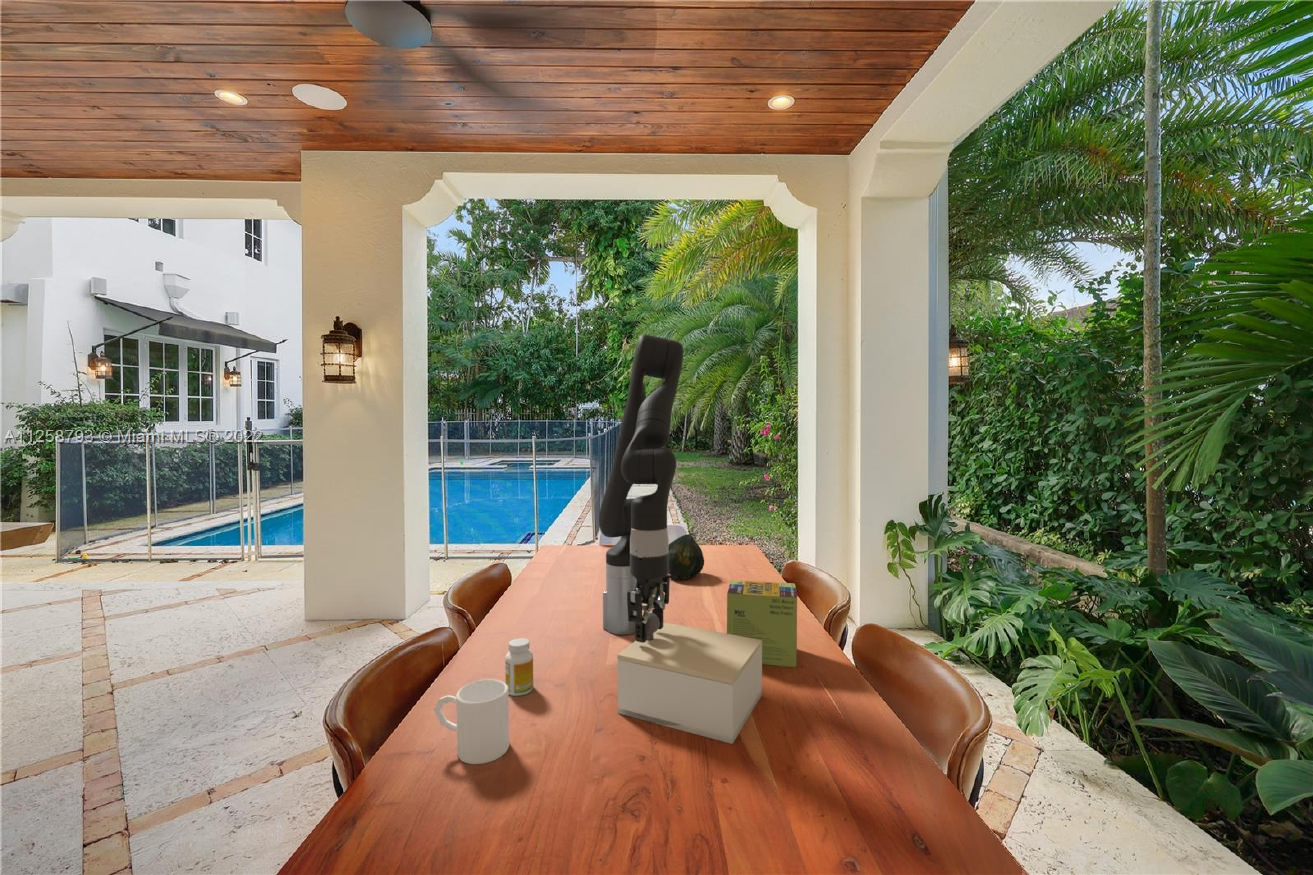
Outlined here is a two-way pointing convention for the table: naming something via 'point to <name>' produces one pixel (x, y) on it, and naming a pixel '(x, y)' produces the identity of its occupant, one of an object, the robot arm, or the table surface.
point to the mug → (479, 720)
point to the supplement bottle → (519, 667)
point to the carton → (690, 698)
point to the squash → (685, 558)
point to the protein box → (765, 618)
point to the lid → (692, 651)
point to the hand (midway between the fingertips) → (649, 634)
